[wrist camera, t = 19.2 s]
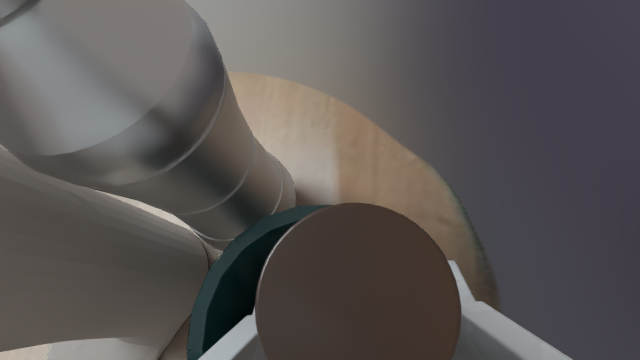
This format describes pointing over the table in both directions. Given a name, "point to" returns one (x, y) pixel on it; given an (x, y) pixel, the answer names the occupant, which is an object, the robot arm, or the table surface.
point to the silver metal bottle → (135, 111)
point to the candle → (89, 270)
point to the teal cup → (236, 280)
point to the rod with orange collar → (357, 290)
